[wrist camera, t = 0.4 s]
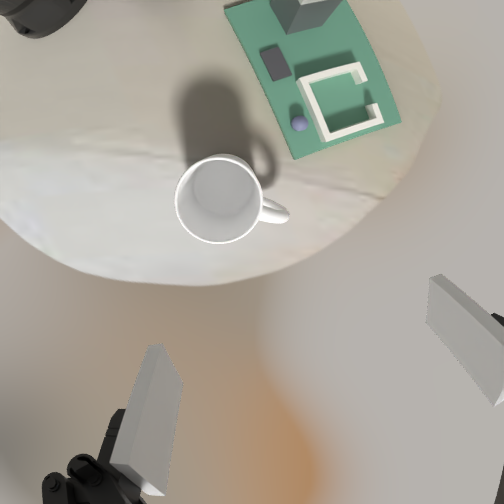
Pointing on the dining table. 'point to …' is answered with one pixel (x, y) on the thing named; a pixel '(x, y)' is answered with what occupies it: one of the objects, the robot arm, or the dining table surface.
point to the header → (316, 113)
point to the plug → (302, 13)
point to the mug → (223, 200)
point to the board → (309, 62)
